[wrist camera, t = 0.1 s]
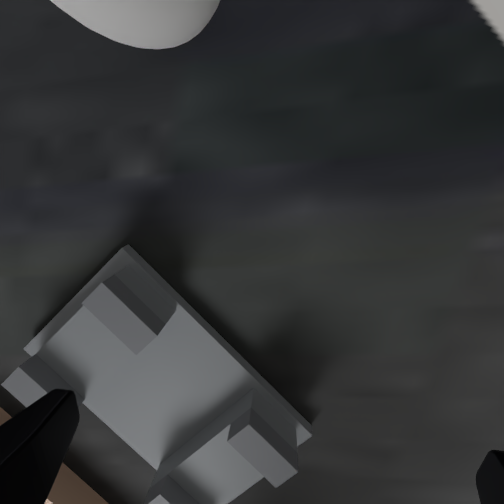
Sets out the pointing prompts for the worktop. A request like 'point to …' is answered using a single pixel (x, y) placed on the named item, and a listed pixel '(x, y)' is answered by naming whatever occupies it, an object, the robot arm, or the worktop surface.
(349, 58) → the worktop surface
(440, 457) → the worktop surface
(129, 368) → the grey cradle stand
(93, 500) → the clay bar
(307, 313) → the worktop surface
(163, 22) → the white air blower bulb
